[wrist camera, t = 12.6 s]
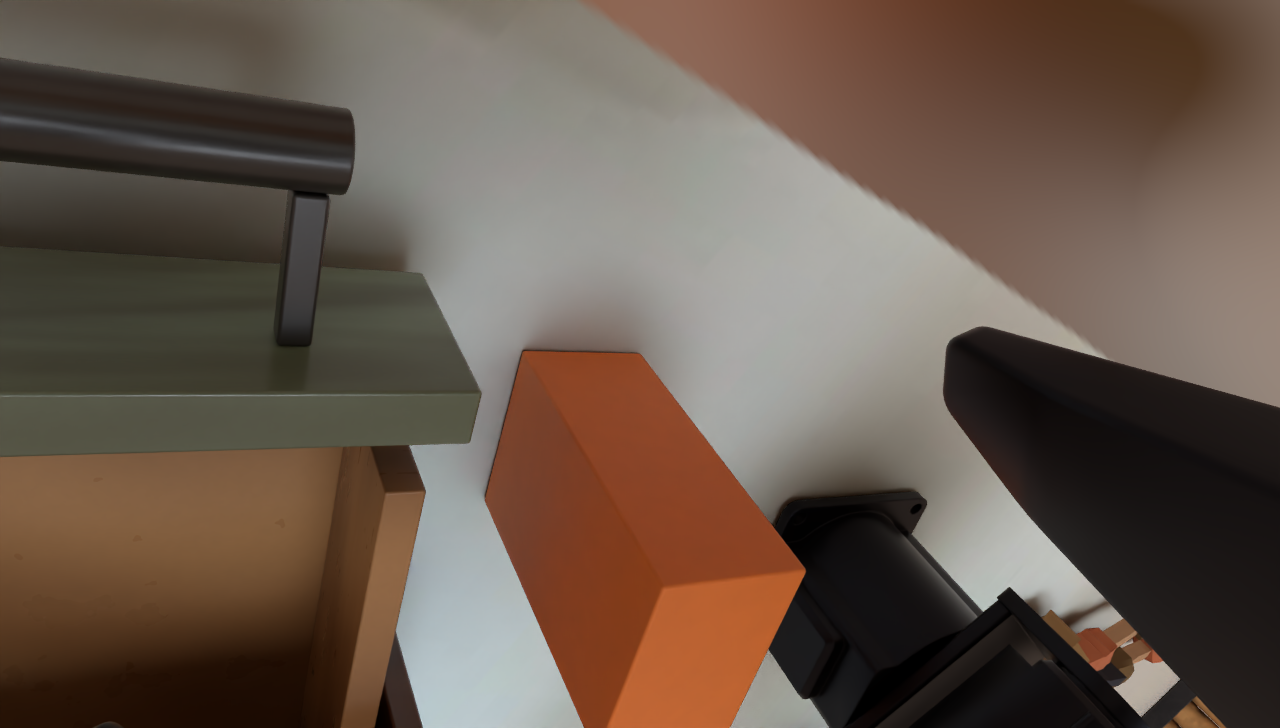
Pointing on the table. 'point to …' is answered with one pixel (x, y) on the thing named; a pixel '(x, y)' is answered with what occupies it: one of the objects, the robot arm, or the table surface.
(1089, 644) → the character figurine
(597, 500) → the orange rectangular block
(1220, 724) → the ammunition clip
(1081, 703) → the robot arm
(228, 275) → the drawer
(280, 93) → the table surface
